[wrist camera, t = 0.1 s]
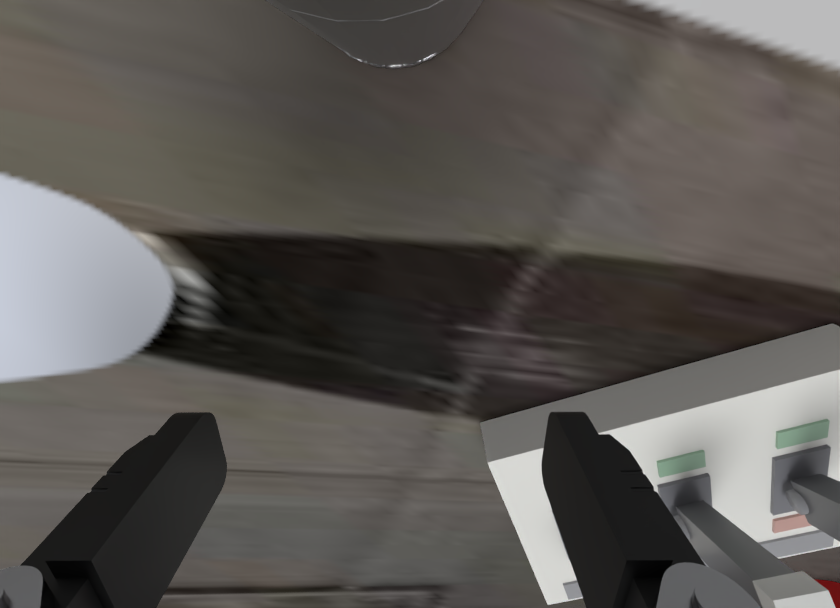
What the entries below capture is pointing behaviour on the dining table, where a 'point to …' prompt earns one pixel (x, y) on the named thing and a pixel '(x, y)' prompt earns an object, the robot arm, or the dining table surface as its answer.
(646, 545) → the robot arm
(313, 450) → the dining table surface
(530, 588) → the dining table surface
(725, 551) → the breaker mid
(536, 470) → the panel
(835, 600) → the toy clock
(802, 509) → the lever
